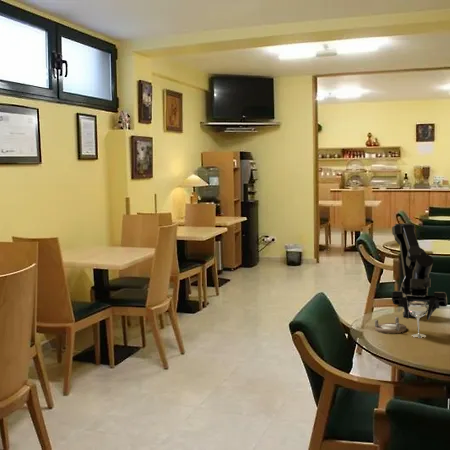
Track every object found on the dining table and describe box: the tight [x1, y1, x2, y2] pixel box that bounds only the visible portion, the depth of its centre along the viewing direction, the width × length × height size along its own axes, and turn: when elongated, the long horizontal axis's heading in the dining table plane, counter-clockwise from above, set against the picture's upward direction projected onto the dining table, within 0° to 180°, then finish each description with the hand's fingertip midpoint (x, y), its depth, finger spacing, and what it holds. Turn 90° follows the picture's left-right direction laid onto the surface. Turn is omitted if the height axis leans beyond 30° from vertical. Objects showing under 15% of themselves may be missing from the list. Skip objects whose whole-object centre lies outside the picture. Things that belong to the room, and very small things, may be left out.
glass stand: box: [374, 316, 407, 335], centre depth 211 cm, size 11×11×4 cm
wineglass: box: [408, 301, 429, 339], centre depth 201 cm, size 7×7×12 cm
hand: (417, 318), depth 199 cm, fingers closed on wineglass, 6 cm apart
